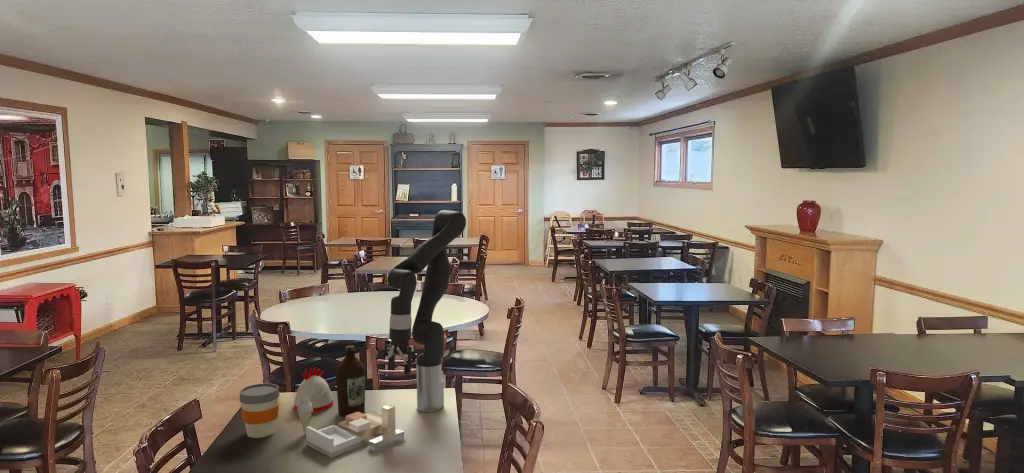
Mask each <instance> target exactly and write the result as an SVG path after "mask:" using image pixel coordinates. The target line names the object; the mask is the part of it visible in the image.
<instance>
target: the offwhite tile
mask: <svg viewBox="0 0 1024 473" xmlns="http://www.w3.org/2000/svg"><path fill="white" fill-rule="evenodd" d="M349 428H350V429H352V430H354V431H356V432H360V431H363V430H366V429H368V428H371V422H370V421H368V420H365V419H363V418H360V419H357V420H354V421H351V422H349Z"/></svg>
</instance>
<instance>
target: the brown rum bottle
mask: <svg viewBox="0 0 1024 473" xmlns="http://www.w3.org/2000/svg"><path fill="white" fill-rule="evenodd" d="M355 348H356V347H355V345H346V346H345V351H344V352H345V356H344V358H343V359H342V360H341V361H340V363H338V365H337V366H336V370H335V383H336V395H337V413H338V415H339V417H342V418H346V415H349V414H352V413H355V412H360V413H363V414H365V412H366V408H365V407H366V375H367V372H366V368H365V367H366V366H365V365H364V363H363V362H362V361H361V360H360V359H358V357H357V356H356V349H355Z"/></svg>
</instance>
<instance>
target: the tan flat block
mask: <svg viewBox="0 0 1024 473" xmlns="http://www.w3.org/2000/svg"><path fill="white" fill-rule="evenodd" d="M364 414H365V415H367V420H368V421H370V422H371V428H368V429H366V430H363V431H360V432H356V431H354V430H352V429H350V428H349V423H348V422H346V419H345V420H344V421H340V422H337V426H338V427H340V428H343V429H345V430H347V431H349V432H351V433H353V434H355V435H357V436H360V437H361V445H363V444H365V443H369V440H372V439H374V438H377V437H379V436H382V413H378V412H375V411H373V410H371V411H368V412H366V413H365V412H364Z"/></svg>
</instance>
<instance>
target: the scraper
mask: <svg viewBox="0 0 1024 473" xmlns="http://www.w3.org/2000/svg"><path fill="white" fill-rule="evenodd" d="M381 415H382V436H379V437H377V438H374V439H372V440H369V441H368V450H369V451H371V452H373V453H377V452H379V451H381V449H382V450H384V449H386V448H389V447H391V446H393V445H396V444H398V443H400V442H404V441H405V430H402V429H400V428H397V429H396V407H395V406H394V405H392V404H387V405H384V406H381Z"/></svg>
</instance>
